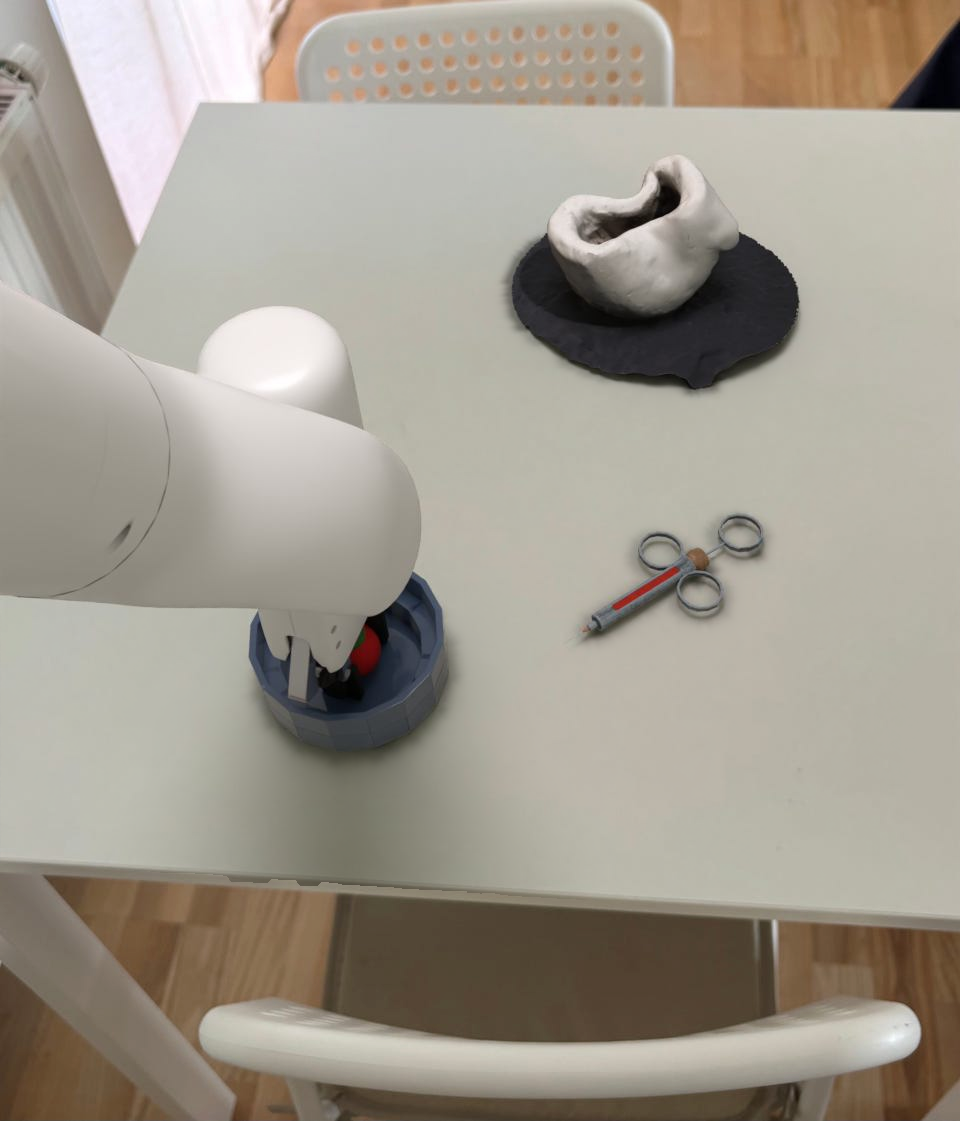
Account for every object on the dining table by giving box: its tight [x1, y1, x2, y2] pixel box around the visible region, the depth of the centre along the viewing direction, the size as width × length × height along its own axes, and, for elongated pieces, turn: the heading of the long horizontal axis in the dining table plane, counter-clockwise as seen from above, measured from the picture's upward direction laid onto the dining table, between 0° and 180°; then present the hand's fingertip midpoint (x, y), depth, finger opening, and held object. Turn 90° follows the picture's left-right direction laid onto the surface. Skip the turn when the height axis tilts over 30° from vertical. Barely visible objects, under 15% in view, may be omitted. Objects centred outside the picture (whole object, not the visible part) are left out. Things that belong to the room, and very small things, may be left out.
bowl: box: [248, 571, 449, 753], centre depth 76 cm, size 13×13×5 cm
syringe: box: [563, 513, 764, 644], centre depth 80 cm, size 8×18×2 cm, turn 124°
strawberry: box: [350, 624, 381, 677], centre depth 76 cm, size 4×4×4 cm
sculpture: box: [511, 153, 801, 390], centre depth 94 cm, size 23×25×13 cm
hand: (354, 661), depth 77 cm, fingers closed on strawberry, 3 cm apart
